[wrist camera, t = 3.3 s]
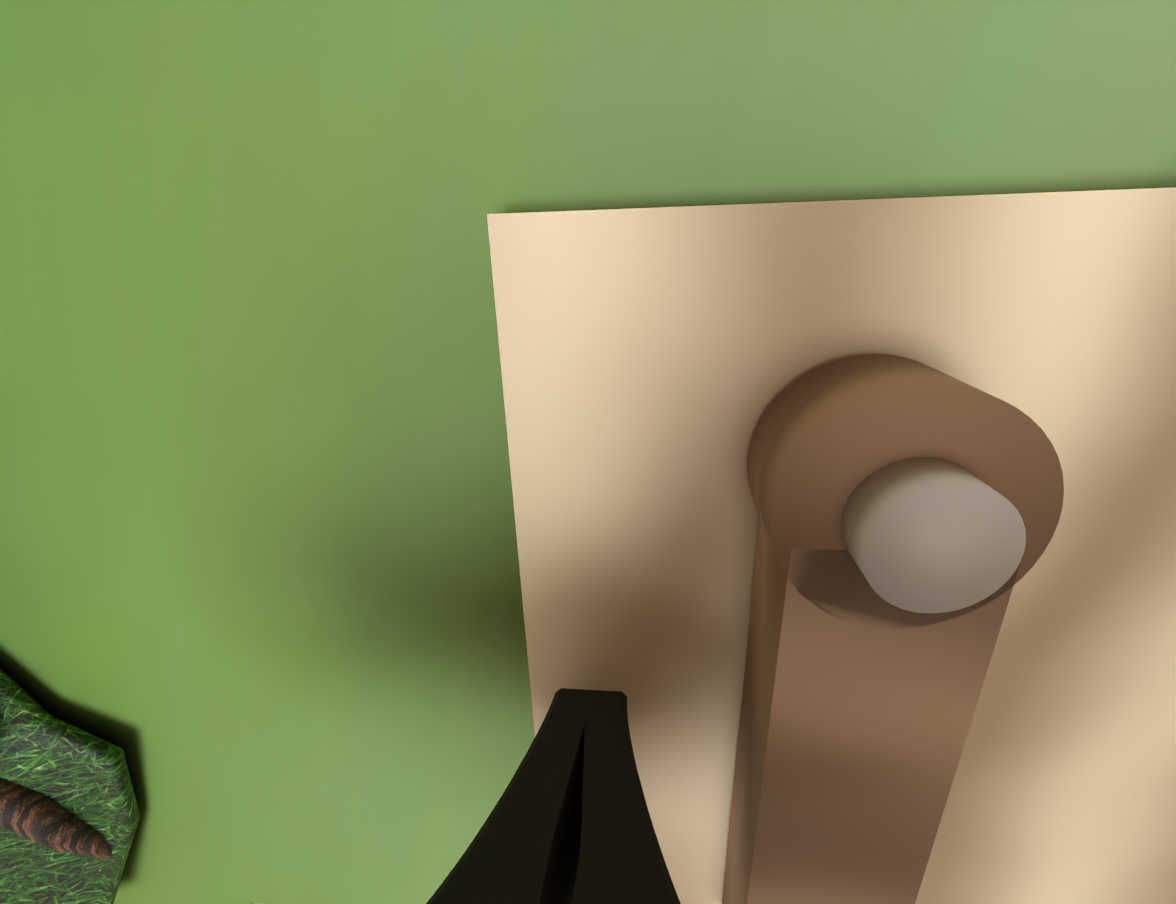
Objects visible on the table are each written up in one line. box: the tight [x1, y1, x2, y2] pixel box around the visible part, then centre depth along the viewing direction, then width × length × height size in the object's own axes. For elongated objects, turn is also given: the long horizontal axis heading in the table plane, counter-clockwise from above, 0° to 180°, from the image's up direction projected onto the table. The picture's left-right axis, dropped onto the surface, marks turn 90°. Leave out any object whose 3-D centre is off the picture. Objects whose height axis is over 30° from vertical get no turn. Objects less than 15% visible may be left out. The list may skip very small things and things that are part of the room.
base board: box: [487, 187, 1176, 904], centre depth 11 cm, size 20×19×1 cm
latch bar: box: [722, 354, 1064, 904], centre depth 10 cm, size 14×4×3 cm, turn 2°
